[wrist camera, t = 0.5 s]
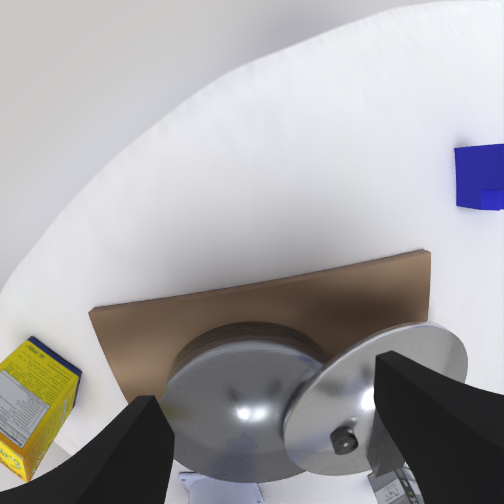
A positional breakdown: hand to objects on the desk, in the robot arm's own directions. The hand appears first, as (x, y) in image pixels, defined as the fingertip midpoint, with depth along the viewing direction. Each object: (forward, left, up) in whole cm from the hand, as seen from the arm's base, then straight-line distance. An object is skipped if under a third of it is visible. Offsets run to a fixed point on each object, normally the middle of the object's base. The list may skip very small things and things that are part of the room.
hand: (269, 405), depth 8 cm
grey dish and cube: (-7, -2, -9) cm, 12 cm away
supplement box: (-5, +19, -10) cm, 23 cm away
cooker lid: (-7, -7, -4) cm, 11 cm away
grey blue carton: (-30, -14, -10) cm, 35 cm away
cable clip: (+5, -23, -10) cm, 25 cm away
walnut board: (-7, -1, -10) cm, 13 cm away
